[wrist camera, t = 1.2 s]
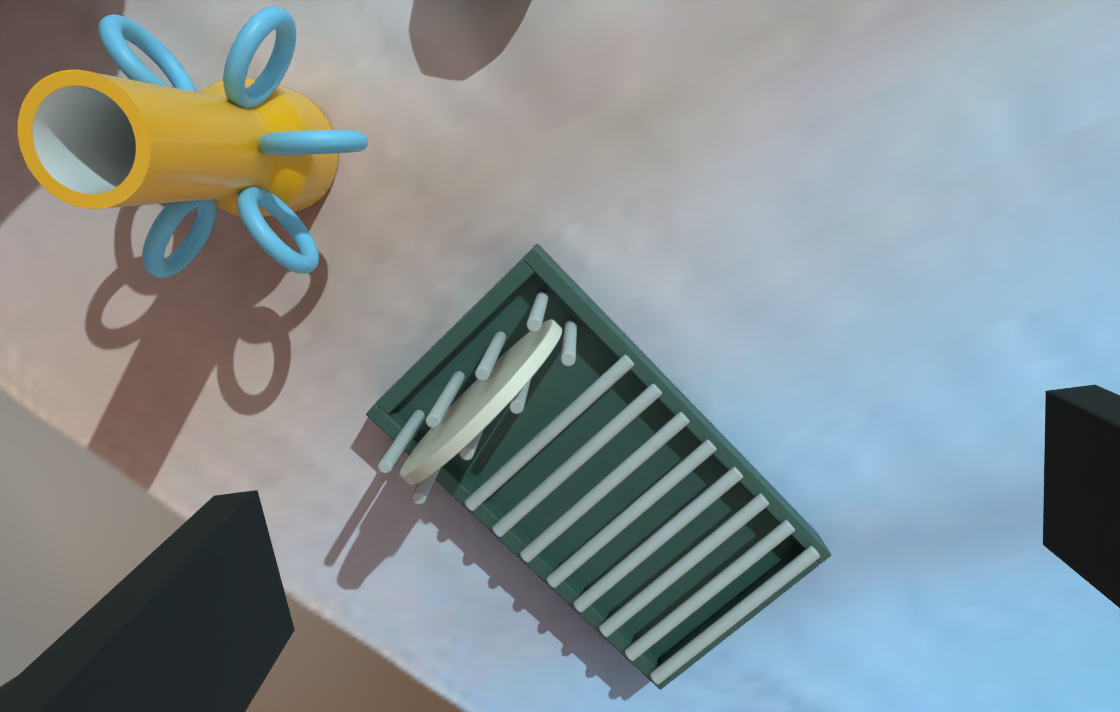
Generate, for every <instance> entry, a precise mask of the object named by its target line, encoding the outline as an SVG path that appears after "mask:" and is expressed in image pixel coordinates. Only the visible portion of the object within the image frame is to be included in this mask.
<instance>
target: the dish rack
mask: <svg viewBox="0 0 1120 712" xmlns="http://www.w3.org/2000/svg"><path fill="white" fill-rule="evenodd" d="M366 415H367V416H368V417H369V418H370V419H371V420H372V421H373V422H374V423H375V424H377V425H378V426H379V427H380V428H381V429H382V430H383V431H384V432H385V433H386V434H387V435H388V436H389V437H390V438H391V439H393V440H394V442H393V443H392V445H391V446H390V448H389V449H388V451H387V452H386V454H385V455H384V457H383V458H382V459H381V461H380V462H379V464H378V469H379V471H380V472H382V473H389V472H390V471H391V470H392V468H393V466H394V465H395V463H396V462H397V460H398V459H399V457H400V455H401V454H402V452H403V451H405V452H406V453H408V454H409V457H408V458H407V460H406V461H405V463H404V464H403V466H402V468H401V471H400V477H402V478H403V479H404V480H405V481H406V482H407V483H408V484H409V485H414V484H417V483H419V484H418V485H417V487H416V489H415V491H414V493H413V495H412V501H413V502H414V503H415V504H418V505H420V504H423V503H424V502H425V500H426V498H427V496H428V494H429V492H430V490H431V487H432V485H433V483H434V481H435V480H436V481H437V482H439V483H440V484H441V485H442V486H443V487H444V488H445V489H446V490H447V491H448V492H449V493H450V494H451V495H452V496H453V497H455V498H456V499H457V500H458V501H459V502H460V503H461V504H462V505H463V506H464V507H465V508H466V509H467V510H468V511H470V512H471V513H472V514H473V515H474V516H475V517H476V518H477V519H478V520H479V521H480V522H481V523H482V524H483V525H485V526H486V527H487V528H488V529H489V530H490V531H491V532H492V533H493V534H494V535H495V536H496V537H497V538H498V539H499V540H501V541H502V542H503V543H504V544H505V545H506V546H507V547H508V548H509V549H510V550H511V551H512V552H513V553H514V554H516V555H517V556H518V557H519V558H520V559H521V560H522V561H523V562H524V563H525V564H526V565H527V566H528V567H529V568H530V569H532V570H533V571H534V572H535V573H536V574H537V575H538V576H539V577H540V578H541V579H542V580H543V581H544V582H545V583H547V584H548V585H549V586H550V587H551V588H552V589H553V590H554V591H555V592H556V593H557V594H558V595H559V596H560V597H561V598H563V599H564V600H565V601H566V602H567V603H568V604H569V605H570V606H571V607H572V608H573V609H574V610H575V611H576V612H578V613H579V614H580V615H581V616H582V617H583V618H584V619H585V620H586V621H587V622H588V623H589V624H590V625H591V626H592V627H594V628H595V629H596V630H597V631H598V632H599V633H600V634H601V635H602V636H603V637H604V638H605V639H606V640H607V641H609V642H610V643H611V644H612V645H613V646H614V647H615V648H616V649H617V650H618V651H619V652H620V653H621V654H622V655H624V656H625V657H626V658H627V659H628V660H629V661H630V662H631V663H632V664H633V665H634V666H635V667H636V668H637V669H638V670H640V671H641V672H642V673H643V674H644V675H645V676H646V677H647V678H648V679H649V680H650V681H651V682H652V683H653V684H655V685H656V686H657V687H658V688H659V689H662V688H663V687H665V686H666V685H667V684H668V683H670V681H672V680H674V679H675V678H676V677H677V676H679V675H680V674H681V673H683V672H684V671H685V670H686V669H688V668H689V667H690V666H691V665H693V664H694V663H695V662H697V661H698V660H699V659H700V658H702V657H703V656H704V655H705V654H707V653H708V652H709V651H710V650H712V649H713V648H714V647H716V646H717V645H718V644H719V643H721V642H722V641H723V640H724V639H726V638H727V637H728V636H730V635H731V634H732V633H733V632H735V631H736V630H737V629H738V628H740V627H741V626H742V625H744V624H745V623H746V622H747V621H749V620H750V619H751V618H752V617H754V616H755V615H756V614H758V613H759V612H760V611H761V610H763V609H764V608H765V607H766V606H768V605H769V604H770V603H772V602H773V601H774V600H775V599H777V598H778V597H779V596H780V595H782V594H783V593H784V592H786V591H787V590H788V589H789V588H791V587H792V586H793V585H794V584H796V583H797V582H798V581H800V580H801V579H802V578H803V577H805V576H806V575H807V574H808V573H810V572H811V571H812V570H814V569H815V568H816V567H817V566H819V564H821V563H822V562H824V561H825V560H826V559H827V558H829V557H830V556H831V553H830V552H829V550H828V548H827V547H826V545H825V544H824V542H823V541H822V539H821V538H820V536H819V534H818V533H817V532H816V531H815V530H814V529H813V528H812V527H811V526H810V525H809V524H808V523H807V522H806V521H805V520H804V519H803V517H802V516H801V515H800V514H799V513H798V512H797V511H796V510H795V509H794V508H793V507H792V506H791V505H790V504H789V503H788V502H787V501H786V500H785V499H784V498H783V497H782V496H781V495H780V494H779V493H778V492H777V491H776V490H775V489H774V487H773V486H772V485H771V484H770V483H769V482H768V481H767V480H766V479H765V478H764V477H763V476H762V475H761V474H760V473H759V472H758V471H757V470H756V469H755V468H754V467H753V466H752V465H751V464H750V463H749V462H748V461H747V460H746V459H745V458H744V456H743V455H742V454H741V453H740V452H739V451H738V450H737V449H736V448H735V447H734V446H733V445H732V444H731V443H730V442H729V441H728V440H727V439H726V438H725V437H724V436H723V435H722V434H721V433H720V432H719V431H718V430H717V429H716V428H715V426H714V425H713V424H712V423H711V422H710V421H709V420H708V419H707V418H706V417H705V416H704V415H703V414H702V413H701V412H700V411H699V410H698V409H697V408H696V407H695V406H694V405H693V404H692V403H691V402H690V401H689V400H688V399H687V398H686V397H685V395H684V394H683V393H682V392H681V391H680V390H679V389H678V388H677V387H676V386H675V385H674V384H673V383H672V382H671V381H670V380H669V379H668V378H667V377H666V376H665V375H664V374H663V373H662V372H661V371H660V370H659V369H658V368H657V367H656V365H655V364H654V363H653V362H652V361H651V360H650V359H649V358H648V357H647V356H646V355H645V354H644V353H643V352H642V351H641V350H640V349H639V348H638V347H637V346H636V345H635V344H634V343H633V342H632V341H631V340H630V339H629V338H628V337H627V336H626V334H625V333H624V332H623V331H622V330H621V329H620V328H619V327H618V326H617V325H616V324H615V323H614V322H613V321H612V320H611V319H610V318H609V317H608V316H607V315H606V314H605V313H604V312H603V311H602V310H601V309H600V308H599V307H598V306H597V305H596V303H595V302H594V301H593V300H592V299H591V298H590V297H589V296H588V295H587V294H586V293H585V292H584V291H583V290H582V289H581V288H580V287H579V286H578V285H577V284H576V283H575V282H574V281H573V280H572V279H571V278H570V277H569V276H568V275H567V273H566V272H565V271H564V270H563V269H562V268H561V267H560V266H559V265H558V264H557V263H556V262H555V261H554V260H553V259H552V258H551V257H550V256H549V255H548V254H547V253H546V252H545V251H544V250H543V249H542V248H541V247H540V246H539V245H538V244H537V245H536V246H535V247H534V248H532V249H531V250H530V251H529V252H528V253H527V254H526V255H525V256H524V257H523V258H522V259H521V260H520V261H519V262H518V263H517V264H516V265H515V266H514V267H513V268H512V269H511V270H510V271H509V272H508V273H507V274H506V275H505V276H504V277H503V278H502V279H501V280H500V281H499V282H498V283H497V284H496V285H495V286H494V287H493V288H492V289H491V290H490V291H489V292H488V293H487V294H486V295H485V296H484V297H483V298H482V299H481V300H480V301H479V302H477V303H476V304H475V305H474V306H473V307H472V308H471V309H470V310H469V311H468V312H467V313H466V314H465V315H464V316H463V317H462V318H461V319H460V320H459V321H458V322H457V323H456V324H455V325H454V326H453V327H452V328H451V329H450V330H449V331H448V332H447V333H446V334H445V335H444V336H443V337H442V338H441V339H440V340H439V341H438V342H437V343H436V344H435V345H434V346H433V347H432V348H431V349H430V350H429V351H428V352H427V353H426V354H425V355H424V356H422V357H421V358H420V359H419V360H418V361H417V362H416V363H415V364H414V365H413V366H412V367H411V368H410V369H409V370H408V371H407V372H406V373H405V374H404V375H403V376H402V377H401V378H400V379H399V380H398V381H397V382H396V383H395V384H394V385H393V386H392V387H391V388H390V389H389V390H388V391H387V392H386V393H385V394H384V395H383V396H382V397H381V398H380V399H379V400H378V401H377V402H376V403H375V404H374V405H373V407H372V408H371V409H370V410H369V411H368V412H367V414H366Z"/></svg>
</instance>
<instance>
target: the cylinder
mask: <svg viewBox="0 0 1120 712" xmlns="http://www.w3.org/2000/svg"><path fill="white" fill-rule="evenodd" d="M274 29H276V40H275V45H274V48H273V51H272V54H271V57H270V59H269V61H268V63H267V65H266V67H265V69H264V70H263V72H262V73H261V75H260V76H259V77H258V78H257V80H254V79H247V78H246V74H247V71H248V67H249V64H250V62H251V60H252V57H253V55H254V53H255V51H256V50H257V48H258V46H259V45H260V43H261V42H262V41H263V39H264V38H265V37H266V36H267V35H268V34H269V33H270V32H271V31H273V30H274ZM99 35H100V38H101V41H102V43H103V45H104V47H105V49H106V50H107V52H108V54H109V55H110V57H111V58H112V59H113V61H114V62H115V63H116V65H117V66H118V67H119V68H120V69H121V71H122V72H123V73H124V74H125V75H126V76H127V77H128V78H129V79H126V78H121V77H116V76H110V75H105V74H100V73H95V72H90V71H84V70H63V71H59V72H55V73H52V74H50V75H48V76H46V77H44V78H43V79H41V80H40V81H39V82H37V83H36V84H35V85H34V86H33V87H32V88H31V90H30V91H29V92H28V94H27V95H26V97H25V99H24V101H23V103H22V106H21V109H20V112H19V117H18V140H19V145H20V149H21V152H22V155H23V158H24V160H25V162H26V164H27V166H28V168H29V170H30V171H31V173H32V174H33V176H34V177H35V178H36V179H37V181H38V182H39V183H40V184H41V185H42V186H43V187H44V188H45V189H46V190H47V191H48V192H50V193H51V194H52V195H54V196H55V197H57V198H58V199H60V200H62V201H64V202H66V203H68V204H71V205H74V206H77V207H81V208H88V209H102V208H113V207H125V206H136V205H148V204H160V203H168V204H167V205H166V206H165V207H164V209H163V210H162V211H161V212H160V214H159V215H158V217H157V218H156V220H155V221H154V223H153V225H152V226H151V228H150V230H149V232H148V235H147V237H146V240H145V243H144V247H143V253H142V260H143V265H144V267H145V269H146V271H147V272H148V273H149V274H150V275H152V276H154V277H157V278H167V277H171V276H173V275H175V274H177V273H178V272H180V271H181V270H183V269H184V268H185V267H186V266H187V265H188V264H189V263H190V262H191V261H192V260H193V259H194V258H195V257H196V256H197V254H198V253H199V252H200V250H201V249H202V247H203V246H204V244H205V242H206V241H207V239H208V237H209V235H210V233H211V231H212V228H213V226H214V223H215V219H216V214H217V208H218V209H220V210H222V211H225V212H227V213H230V214H233V215H236V216H240V217H241V219H242V221H243V223H244V225H245V227H246V228H247V230H248V231H249V233H250V234H251V236H252V237H253V238H254V240H255V241H256V242H257V243H258V244H259V246H260V247H261V248H262V249H263V250H264V251H265V252H266V253H267V254H268V255H269V256H270V257H272V258H273V259H274V260H275V261H276V262H278V263H279V264H281V265H282V266H284V267H285V268H287V269H289V270H291V271H293V272H296V273H301V274H306V273H310V272H312V271H314V270H315V269H316V267H317V266H318V263H319V253H318V249H317V246H316V244H315V242H314V240H313V238H312V236H311V234H310V233H309V231H308V230H307V228H306V227H305V225H304V224H303V222H302V221H301V220H300V219H299V217H298V216H297V215H296V214H295V213H294V212H296V211H300V210H303V209H305V208H307V207H309V206H311V205H313V204H314V203H316V202H317V201H318V200H319V199H321V198H322V197H323V196H324V194H325V193H326V192H327V191H328V189H329V188H330V186H331V184H332V182H333V180H334V178H335V175H336V172H337V167H338V160H339V153H350V152H359V151H363V150H364V149H365V148H366V147H367V145H368V140H367V137H366V136H365V135H364V134H363V133H361V132H358V131H349V130H333V128H332V126H331V124H330V122H329V120H328V118H327V117H326V115H325V114H324V113H323V111H322V110H321V109H320V108H319V107H318V106H317V105H316V104H315V103H314V102H313V101H311V100H310V99H309V98H307V97H306V96H304V95H302V94H300V93H298V92H296V91H294V90H291V89H288V88H284V87H281V86H278V85H279V83H280V82H281V80H282V79H283V77H284V75H285V73H286V71H287V69H288V67H289V64H290V62H291V59H292V56H293V52H294V48H295V43H296V27H295V23H294V20H293V18H292V16H291V15H290V14H289V13H288V12H287V11H286V10H285V9H283V8H280V7H276V6H272V7H267V8H264V9H262V10H260V11H259V12H257V13H256V14H255V15H254V16H252V17H251V18H250V19H249V20H248V22H247V23H246V24H245V25H244V26H243V28H242V29H241V31H240V32H239V34H238V35H237V37H236V39H235V41H234V43H233V45H232V47H231V49H230V52H229V54H228V57H227V60H226V64H225V69H224V77H223V80H221V81H218V82H215V83H213V84H210V85H208V86H207V87H205V88H203V89H202V90H201V91H199V92H196V89H195V87H194V84H193V82H192V80H191V79H190V77H189V75H188V74H187V72H186V71H185V69H184V68H183V67H182V65H181V64H180V63H179V62H178V60H177V59H176V58H175V57H174V56H173V55H172V54H171V52H170V51H169V50H168V49H167V48H166V47H165V46H164V45H163V44H162V43H161V42H160V41H159V40H157V39H156V38H155V37H154V36H153V35H152V34H151V33H149V32H148V31H147V30H145V29H144V28H143V27H141V26H140V25H138V24H137V23H135V22H134V21H132V20H130V19H128V18H126V17H123V16H120V15H107V16H105V17H104V18H102V20H101V21H100V23H99ZM124 38H125V39H126V40H128V41H130V42H131V43H133V44H134V45H136V46H137V47H138V48H139V49H141V50H142V51H143V52H144V53H145V54H146V55H148V56H149V57H150V58H151V59H152V60H153V61H154V62H155V63H156V64H157V65H158V67H159V68H160V69H161V70H162V71H163V72H164V74H165V75H166V76H167V78H168V79H169V80H170V82H171V83H172V85H173V87H174V88H173V87H169V86H168V85H166V84H165V83H164V82H162V81H161V80H160V79H159V78H157V77H156V76H155V75H154V74H153V73H152V72H151V71H150V70H149V69H148V68H147V67H146V66H145V65H144V64H143V63H142V62H141V61H140V60H139V59H138V57H137V56H136V55H135V54H134V53H133V51H132V50H131V49H130V47H129V46H128V44H127V42H126V41H125V39H124ZM195 208H197V214H196V218H195V221H194V223H193V226H192V228H191V230H190V232H189V233H188V235H187V237H186V238H185V240H184V241H183V242H182V244H181V245H180V246H179V247H178V248H177V249H176V250H175V251H174V252H173V253H172V254H171V255H170V256H168V257H167V258H165V259H164V253H165V249H166V246H167V244H168V242H169V239H170V237H171V236H172V234H173V232H174V231H175V229H176V227H177V226H178V225H179V223H180V222H181V221H182V220H183V219H184V217H185V216H186V215H187V214H188V213H190V212H191V211H192V210H193V209H195ZM266 216H273V217H274V218H275V219H276V220H277V221H278V222H279V223H280V224H281V225H282V226H283V227H284V228H285V229H286V231H287V232H288V233H289V235H290V236H291V237H292V239H293V240H294V242H295V244H296V246H297V248H298V250H299V253H300V254H299V253H297V252H295V251H294V250H292V249H291V248H290V247H288V246H287V245H286V244H285V243H284V242H283V241H282V240H281V239H280V238H279V237H278V236H277V235H276V234H275V233H274V232H273V230H272V229H271V228H270V227H269V225H268V224H267V222H266V221H265V219H264V218H263V217H266Z"/></svg>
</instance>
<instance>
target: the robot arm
mask: <svg viewBox="0 0 1120 712" xmlns="http://www.w3.org/2000/svg"><path fill="white" fill-rule="evenodd" d="M1043 545H1044V546H1045V547H1046V548H1048V549H1049V550H1050V551H1051V552H1052V553H1054V554H1055V555H1056V556H1057V557H1058V558H1060V559H1061V560H1062V561H1063V562H1065V563H1066V564H1067V565H1068V566H1069V567H1071V568H1072V569H1073V570H1074V571H1075V572H1077V573H1078V574H1079V575H1080V576H1081V577H1083V578H1084V579H1085V580H1086V581H1088V582H1089V583H1090V584H1091V585H1092V586H1094V587H1095V588H1096V589H1097V590H1098V591H1100V592H1101V593H1102V594H1103V595H1105V596H1106V597H1107V598H1108V599H1109V600H1111V601H1112V602H1113V603H1114V604H1115V605H1117V606H1118V607H1119V608H1120V395H1118V394H1115V393H1113V392H1111V391H1108V390H1106V389H1104V388H1101V387H1099V386H1097V385H1089V386H1081V387H1073V388H1065V389H1057V390H1049V391H1046V406H1045V460H1044V513H1043ZM293 632H294V626H293V622H292V619H291V615H290V611H289V607H288V604H287V600H286V596H285V592H284V588H283V585H282V581H281V577H280V573H279V570H278V566H277V562H276V558H275V555H274V551H273V547H272V543H271V540H270V536H269V532H268V528H267V525H266V521H265V517H264V513H263V509H262V506H261V502H260V498H259V494H258V491H257V490H255V491H247V492H239V493H231V494H224V495H216V496H213V497H212V498H211V499H210V500H209V501H208V502H207V503H206V504H205V505H204V506H203V507H201V508H200V509H199V510H198V511H197V512H196V513H195V514H194V515H193V516H192V517H191V518H189V519H188V520H187V521H186V522H185V523H184V524H183V525H182V526H181V527H180V528H179V529H177V530H176V531H175V532H174V533H173V534H172V535H171V536H170V537H169V538H168V539H167V540H165V541H164V542H163V543H162V544H161V545H160V546H159V547H158V548H157V549H156V550H155V551H153V552H152V553H151V554H150V555H149V556H148V557H147V558H146V559H145V560H144V561H143V562H142V563H140V564H139V565H138V566H137V567H136V568H135V569H134V570H133V571H132V572H131V573H129V574H128V575H127V576H126V577H125V578H124V579H123V580H122V581H121V582H120V583H119V584H118V585H116V586H115V587H114V588H113V589H112V590H111V591H110V592H109V593H108V594H107V595H105V596H104V597H103V598H102V599H101V600H100V601H99V602H98V603H97V604H96V605H95V606H94V607H92V609H90V610H89V611H88V612H87V613H86V614H85V615H84V616H83V617H82V618H80V619H79V620H78V621H77V622H76V623H75V624H74V625H73V626H72V627H71V628H69V629H68V630H67V631H66V632H65V633H64V634H63V635H62V636H61V637H60V638H59V639H58V640H56V641H55V642H54V643H53V644H52V645H51V646H50V647H49V648H48V649H47V650H45V651H44V652H43V653H42V654H41V655H40V656H39V657H38V658H37V659H36V660H35V661H34V662H32V663H31V664H30V665H29V666H28V667H27V668H26V669H25V670H24V671H23V672H22V673H20V674H19V675H18V676H16V677H15V678H13V679H12V680H10V681H9V682H7V683H6V684H4V685H3V686H1V687H0V712H245V711H246V709H247V708H248V706H249V704H250V703H251V701H252V699H253V698H254V696H255V694H256V693H257V691H258V689H259V688H260V686H261V685H262V683H263V681H264V680H265V678H266V676H267V675H268V673H269V671H270V670H271V668H272V666H273V665H274V663H275V661H276V660H277V658H278V656H279V655H280V653H281V652H282V649H283V648H284V647H285V645H286V643H287V641H288V640H289V638H290V636H291V635H292V633H293Z"/></svg>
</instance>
